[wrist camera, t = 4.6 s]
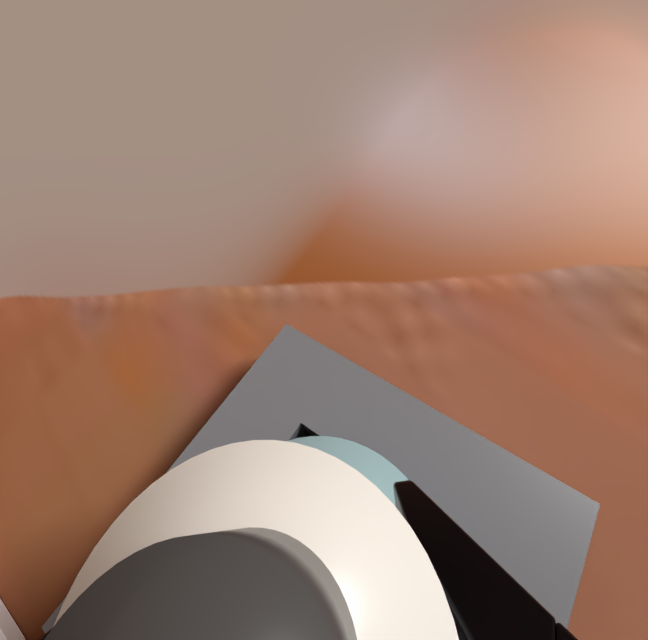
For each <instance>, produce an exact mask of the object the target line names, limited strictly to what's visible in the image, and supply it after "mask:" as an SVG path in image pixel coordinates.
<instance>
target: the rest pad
mask: <svg viewBox="0 0 648 640" xmlns="http://www.w3.org/2000/svg"><path fill="white" fill-rule="evenodd" d="M0 640H26V639H25V637H24V636H23V634H22V633H21V631H20V629H19V628H18V626H17V625H16V623H15V621H14V620H13V618H12V617H11V615H10V613H9V612H8V610H7V609H6V607H5V605H4V604H3V602H2V601H1V599H0Z"/></svg>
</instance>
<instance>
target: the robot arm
mask: <svg viewBox="0 0 648 640" xmlns="http://www.w3.org/2000/svg"><path fill="white" fill-rule="evenodd" d="M393 489H394V498H395V506H396V508H397V509H398V511H399V512H400V513H401V515H402V516H403V517H404V519H405V520H406V521H407V522H408V524H409V525H410V526H411V528H412V529H413V531H414V533H415V535H416V536H417V538H418V540H419V541H420V543H421V545H422V546H423V548H424V550H425V551H426V553H427V555H428V557H429V559H430V561H431V563H432V565H433V568H434V570H435V572H436V574H437V576H438V578H439V580H440V583H441V585H442V587H443V590H444V593H445V596H446V599H447V602H448V605H449V607H450V610H451V613H452V616H453V619H454V622H455V626H456V630H457V634H458V639H459V640H578V639H577V638H575V637H574V636H573V635H572V634H571V633H570V632H569V631H568V630H567V629H566V628H565V627H564V626H563V625H562V624H561V623H559V622H558V623H556V620H555V618H554V617H553V616H552V615H551V614H550V613H549V612H548V611H547V610H546V609H545V608H544V607H543V606H542V605H541V604H540V603H539V602H538V601H537V600H536V599H535V598H534V597H533V596H532V595H531V594H530V593H528V592H527V591H526V590H525V589H524V588H523V587H522V586H521V585H520V584H519V583H518V582H517V581H516V580H515V579H514V578H513V577H512V576H511V575H510V574H509V573H508V572H507V571H506V570H505V569H503V568H502V567H501V566H500V565H499V564H498V563H497V562H496V561H495V560H494V559H493V558H492V557H491V556H490V555H489V554H488V553H487V552H486V551H485V550H484V549H483V548H482V547H481V546H480V545H478V544H477V543H476V542H475V541H474V540H473V539H472V538H471V537H470V536H469V535H468V534H467V533H466V532H465V531H464V530H463V529H462V528H461V527H460V526H459V525H458V524H457V523H456V522H455V521H453V520H452V519H451V518H450V517H449V516H448V515H447V514H446V513H445V512H444V511H443V510H442V509H441V508H440V507H439V506H438V505H437V504H436V503H435V502H434V501H433V500H432V499H431V498H430V497H428V496H427V495H426V494H425V493H424V492H423V491H422V490H421V489H420V488H419V487H418V486H417V485H416V484H415V483H414V482H413V481H411V480H406V481H399V482H395V483H394V485H393ZM52 628H53V627H52ZM52 628H51V629H50V630H49V631H48V632H47V633H46V634H45V635H44V636H42V637H41V638H40V639H39V640H44V639H45V638H46V636H47V635H48V634H49V632H50V631H51V630H52Z"/></svg>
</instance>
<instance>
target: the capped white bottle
mask: <svg viewBox="0 0 648 640" xmlns="http://www.w3.org/2000/svg"><path fill="white" fill-rule="evenodd" d="M406 480H408V479H407V477H406V476H405V475H404V474H403V473H402V472H400V471H399V470H398V469H397V468H396V467H395V466H394V465H393V464H392V463H390V462H389V461H388V460H387V459H385V458H384V457H383V456H381V455H380V454H378V453H376V452H375V451H373V450H371V449H369V448H368V447H365V446H363V445H360V444H358V443H356V442H353V441H349V440H346V439H342V438H337V437H329V436H309V437H302V438H296V439H292V440H289V441H279V440H250V441H244V442H237V443H231V444H228V445H224V446H221V447H217V448H214V449H211V450H209V451H206V452H204V453H202V454H199V455H197V456H195V457H192V458H190V459H189V460H187V461H185V462H183V463H182V464H180V465H178V466H176V467H175V468H173V469H171V470H170V471H169V472H167V473H166V474H164V475H163V476H162V477H160V478H159V479H158V480H156V481H155V482H154V483H152V484H151V485H150V486H149V487H148V488H147V489H145V490H144V491H143V492H142V493H141V494H140V495H139V496H138V497H137V498H136V499H134V500H133V501H132V502H131V503H130V504H129V506H128V507H127V508H126V509H125V510H124V511H123V512H122V513H121V514H120V515H119V517H118V518H117V519H116V520H115V521H114V522H113V523H112V525H111V526H110V527H109V529H108V530H107V531H106V533H105V534H104V535H103V537H102V538H101V539H100V541H99V542H98V543H97V545H96V546H95V547H94V549H93V551H92V552H91V554H90V555H89V557H88V559H87V560H86V562H85V564H84V565H83V567H82V568H81V570H80V572H79V573H78V575H77V577H76V579H75V581H74V583H73V585H72V587H71V589H70V591H69V593H68V595H67V597H66V598H65V600H64V602H63V604H62V607H61V609H60V612H59V614H58V616H57V619H56V621H55V624H54V626H53V628H52V630H51V631H50V632H49V634H48V635H47V636H46V638H45V639H44V640H459V639H458V634H457V630H456V626H455V622H454V619H453V616H452V613H451V610H450V607H449V605H448V602H447V599H446V596H445V593H444V590H443V587H442V585H441V583H440V580H439V578H438V576H437V574H436V572H435V570H434V568H433V565H432V563H431V561H430V559H429V557H428V555H427V553H426V551H425V550H424V548H423V546H422V545H421V543H420V541H419V540H418V538H417V536H416V535H415V533H414V531H413V529H412V528H411V526H410V525H409V524H408V522H407V521H406V520H405V519H404V517H403V516H402V515H401V513H400V512H399V511H398V509H397V508H396V506H395V498H394V489H393V485H394V483H395V482H399V481H406Z"/></svg>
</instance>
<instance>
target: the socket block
mask: <svg viewBox="0 0 648 640" xmlns="http://www.w3.org/2000/svg"><path fill="white" fill-rule="evenodd" d="M309 436H329V437H337V438H342V439H346V440H349V441H353V442H356V443H358V444H360V445H363V446H365V447H368V448H369V449H371V450H373V451H375V452H376V453H378V454H380V455H381V456H383V457H384V458H385V459H387V460H388V461H389V462H390V463H392V464H393V465H394V466H395V467H396V468H397V469H398V470H399V471H400V472H402V473H403V474H404V475H405V476H406V477H407V479H408V480H411V481H413V482H414V483H415V484H416V485H417V486H418V487H419V488H420V489H421V490H422V491H423V492H424V493H425V494H426V495H427V496H428V497H430V498H431V499H432V500H433V501H434V502H435V503H436V504H437V505H438V506H439V507H440V508H441V509H442V510H443V511H444V512H445V513H446V514H447V515H448V516H449V517H450V518H451V519H452V520H453V521H455V522H456V523H457V524H458V525H459V526H460V527H461V528H462V529H463V530H464V531H465V532H466V533H467V534H468V535H469V536H470V537H471V538H472V539H473V540H474V541H475V542H476V543H477V544H478V545H480V546H481V547H482V548H483V549H484V550H485V551H486V552H487V553H488V554H489V555H490V556H491V557H492V558H493V559H494V560H495V561H496V562H497V563H498V564H499V565H500V566H501V567H502V568H503V569H505V570H506V571H507V572H508V573H509V574H510V575H511V576H512V577H513V578H514V579H515V580H516V581H517V582H518V583H519V584H520V585H521V586H522V587H523V588H524V589H525V590H526V591H527V592H528V593H530V594H531V595H532V596H533V597H534V598H535V599H536V600H537V601H538V602H539V603H540V604H541V605H542V606H543V607H544V608H545V609H546V610H547V611H548V612H549V613H550V614H551V615H552V616H553V617H554V618H555V620H556V623H558V622H559V623H561V624H562V625H563V626H564V627H565V628H566V629H567V627H568V623H569V619H570V616H571V612H572V608H573V604H574V601H575V597H576V593H577V589H578V586H579V582H580V578H581V574H582V570H583V567H584V563H585V559H586V555H587V552H588V548H589V544H590V540H591V537H592V533H593V529H594V525H595V522H596V518H597V514H598V510H599V507H600V504H599V503H597V502H595V501H594V500H592V499H590V498H588V497H587V496H585V495H583V494H581V493H580V492H578V491H576V490H574V489H573V488H571V487H569V486H568V485H566V484H564V483H562V482H561V481H559V480H557V479H555V478H554V477H552V476H550V475H548V474H547V473H545V472H543V471H541V470H540V469H538V468H536V467H534V466H533V465H531V464H529V463H527V462H526V461H524V460H522V459H521V458H519V457H517V456H515V455H514V454H512V453H510V452H508V451H507V450H505V449H503V448H501V447H500V446H498V445H496V444H494V443H493V442H491V441H489V440H487V439H486V438H484V437H482V436H480V435H479V434H477V433H475V432H474V431H472V430H470V429H468V428H467V427H465V426H463V425H461V424H460V423H458V422H456V421H454V420H453V419H451V418H449V417H447V416H446V415H444V414H442V413H440V412H439V411H437V410H435V409H433V408H432V407H430V406H428V405H426V404H425V403H423V402H421V401H420V400H418V399H416V398H414V397H413V396H411V395H409V394H407V393H406V392H404V391H402V390H400V389H399V388H397V387H395V386H393V385H392V384H390V383H388V382H386V381H385V380H383V379H381V378H379V377H378V376H376V375H374V374H373V373H371V372H369V371H367V370H366V369H364V368H362V367H360V366H359V365H357V364H355V363H353V362H352V361H350V360H348V359H346V358H345V357H343V356H341V355H339V354H338V353H336V352H334V351H332V350H331V349H329V348H327V347H326V346H324V345H322V344H320V343H319V342H317V341H315V340H313V339H312V338H310V337H308V336H306V335H305V334H303V333H301V332H299V331H298V330H296V329H294V328H292V327H291V326H289V325H287V324H286V325H285V326H284V327H283V329H282V330H281V331H280V332H279V334H278V335H277V336H276V337H275V339H274V340H273V341H272V342H271V343H270V345H269V346H268V347H267V348H266V350H265V351H264V352H263V353H262V355H261V356H260V357H259V358H258V360H257V361H256V362H255V363H254V365H253V366H252V367H251V368H250V369H249V371H248V372H247V373H246V374H245V376H244V377H243V378H242V379H241V381H240V382H239V383H238V384H237V386H236V387H235V388H234V389H233V391H232V392H231V393H230V394H229V395H228V397H227V398H226V399H225V400H224V402H223V403H222V404H221V405H220V407H219V408H218V409H217V410H216V412H215V413H214V414H213V415H212V417H211V418H210V419H209V420H208V421H207V423H206V424H205V425H204V426H203V428H202V429H201V430H200V431H199V433H198V434H197V435H196V436H195V438H194V439H193V440H192V441H191V443H190V444H189V445H188V446H187V447H186V449H185V450H184V451H183V452H182V454H181V455H180V456H179V457H178V459H177V460H176V461H175V462H174V464H173V465H172V466H171V467H170V469H169V470H168V471H167V472H169V471H170V470H171V469H173V468H175V467H176V466H178V465H180V464H182V463H183V462H185V461H187V460H189V459H190V458H192V457H195V456H197V455H199V454H202V453H204V452H206V451H209V450H211V449H214V448H217V447H221V446H224V445H228V444H231V443H237V442H244V441H250V440H279V441H289V440H292V439H296V438H302V437H309ZM167 472H166V473H167ZM166 473H165V474H166ZM66 597H67V596H66ZM66 597H65V598H66ZM65 598H64V600H65ZM64 600H63V601H62V602H61V603H60V605H59V606H58V607H57V608H56V610H55V611H54V612H53V613H52V615H51V616H50V617H49V618H48V620H47V621H46V622H45V623H44V624H43V626H42V627H41V628H42V630H43V631H44V633H45V634H46V633H47V632H48V631H49V630H50V629H51V628H52V627H53V626H54V624H55V621H56V619H57V616H58V614H59V612H60V609H61V607H62V604H63V602H64Z"/></svg>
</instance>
